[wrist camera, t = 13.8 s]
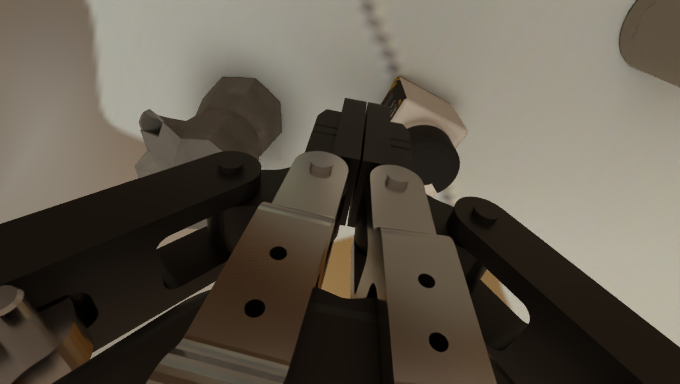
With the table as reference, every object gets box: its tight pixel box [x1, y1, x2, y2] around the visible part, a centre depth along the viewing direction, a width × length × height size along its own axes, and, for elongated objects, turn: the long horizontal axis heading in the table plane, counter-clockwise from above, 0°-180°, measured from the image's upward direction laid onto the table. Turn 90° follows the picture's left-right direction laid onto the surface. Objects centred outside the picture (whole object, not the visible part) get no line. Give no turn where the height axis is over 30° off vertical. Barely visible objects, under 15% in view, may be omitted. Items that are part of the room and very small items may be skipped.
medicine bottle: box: [381, 77, 468, 196], centre depth 35 cm, size 7×7×12 cm
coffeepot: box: [135, 77, 282, 229], centre depth 33 cm, size 15×9×18 cm, turn 20°
